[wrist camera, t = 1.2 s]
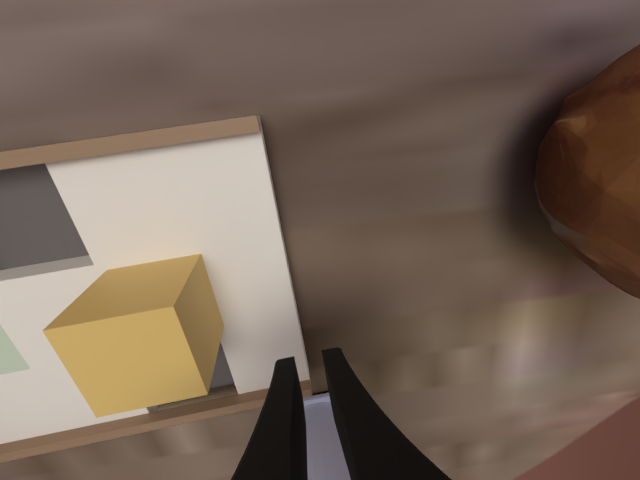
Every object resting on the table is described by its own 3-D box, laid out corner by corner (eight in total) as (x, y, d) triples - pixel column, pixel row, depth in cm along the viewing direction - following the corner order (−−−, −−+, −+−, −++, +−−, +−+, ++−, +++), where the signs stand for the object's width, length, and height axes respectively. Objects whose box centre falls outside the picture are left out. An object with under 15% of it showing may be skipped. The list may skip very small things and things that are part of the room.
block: (224, 325, 19) (207, 394, 14) (140, 342, 18) (96, 417, 14) (200, 253, 17) (173, 306, 12) (106, 269, 16) (42, 330, 12)
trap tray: (308, 365, 24) (314, 409, 20) (5, 427, 22) (-45, 486, 18) (259, 114, 16) (255, 115, 13) (-195, 179, 15) (-340, 200, 11)
